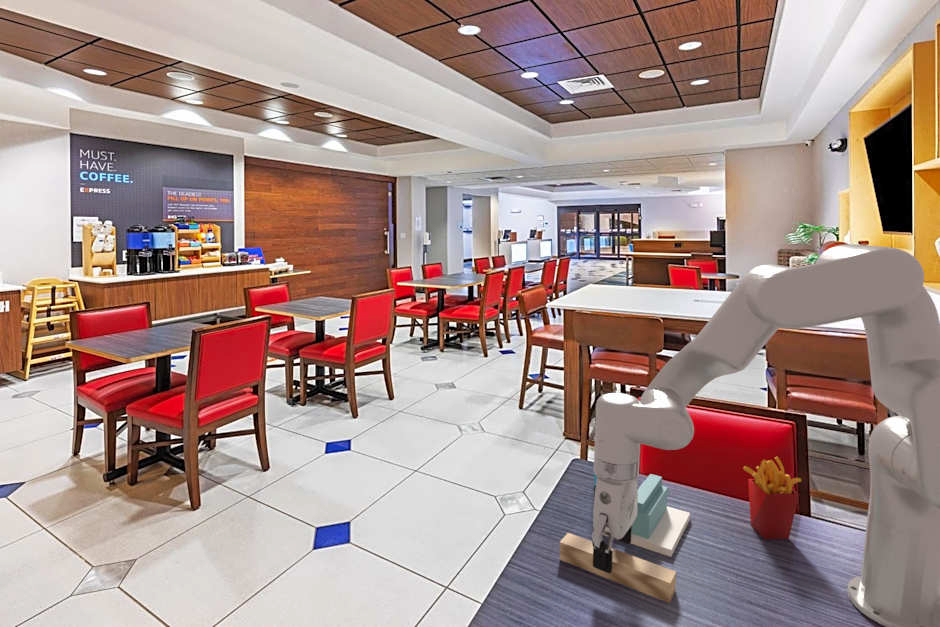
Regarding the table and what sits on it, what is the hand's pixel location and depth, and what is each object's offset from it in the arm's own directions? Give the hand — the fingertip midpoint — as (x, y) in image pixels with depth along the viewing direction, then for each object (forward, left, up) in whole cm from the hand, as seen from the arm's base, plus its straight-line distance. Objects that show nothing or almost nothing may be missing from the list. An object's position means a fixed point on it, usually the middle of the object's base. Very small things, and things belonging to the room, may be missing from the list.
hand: (612, 554), depth 90 cm
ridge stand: (0, -18, -4) cm, 19 cm away
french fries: (-20, -30, -4) cm, 37 cm away
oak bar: (0, 0, -4) cm, 4 cm away
